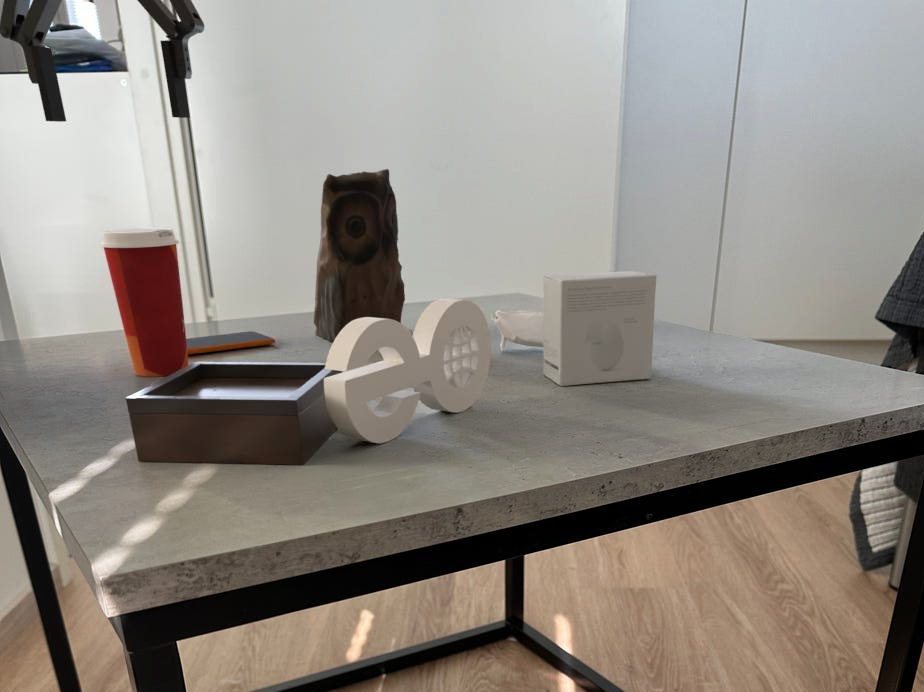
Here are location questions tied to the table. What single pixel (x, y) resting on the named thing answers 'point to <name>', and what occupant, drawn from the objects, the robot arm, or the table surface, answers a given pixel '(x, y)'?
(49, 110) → the robot arm
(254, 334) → the smartphone
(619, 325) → the cosmetics box
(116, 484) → the table surface
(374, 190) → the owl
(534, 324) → the pale pink animal figure
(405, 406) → the letter
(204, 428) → the dark brown tray
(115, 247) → the coffee cup
